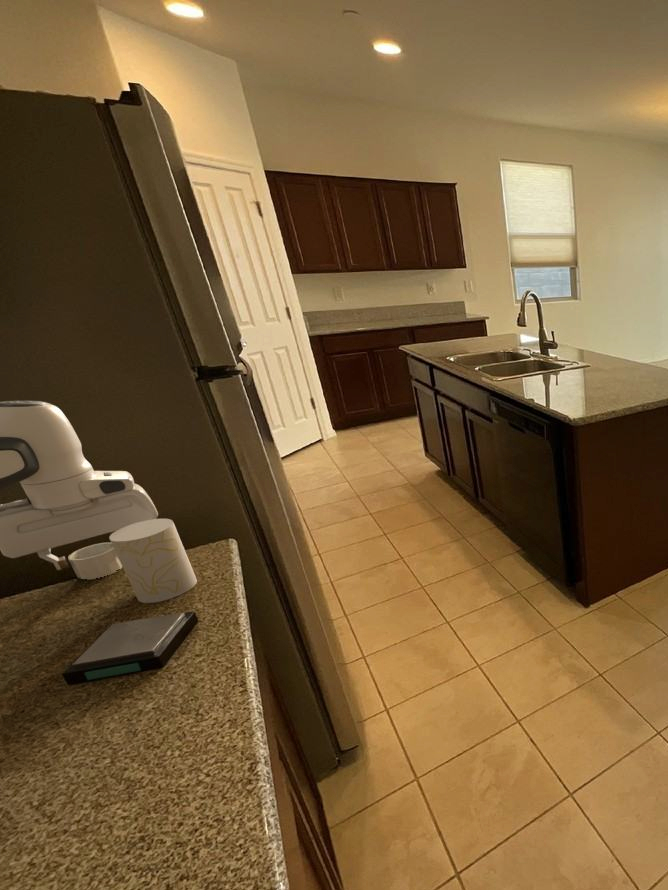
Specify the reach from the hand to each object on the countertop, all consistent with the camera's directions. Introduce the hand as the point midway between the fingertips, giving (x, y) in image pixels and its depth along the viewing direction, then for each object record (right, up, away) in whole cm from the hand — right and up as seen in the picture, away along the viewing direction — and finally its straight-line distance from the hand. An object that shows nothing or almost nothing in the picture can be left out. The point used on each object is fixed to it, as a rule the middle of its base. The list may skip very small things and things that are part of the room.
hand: (99, 557), depth 97 cm
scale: (+26, -11, -19) cm, 34 cm away
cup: (+17, -5, -4) cm, 18 cm away
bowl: (-1, -3, +1) cm, 3 cm away
